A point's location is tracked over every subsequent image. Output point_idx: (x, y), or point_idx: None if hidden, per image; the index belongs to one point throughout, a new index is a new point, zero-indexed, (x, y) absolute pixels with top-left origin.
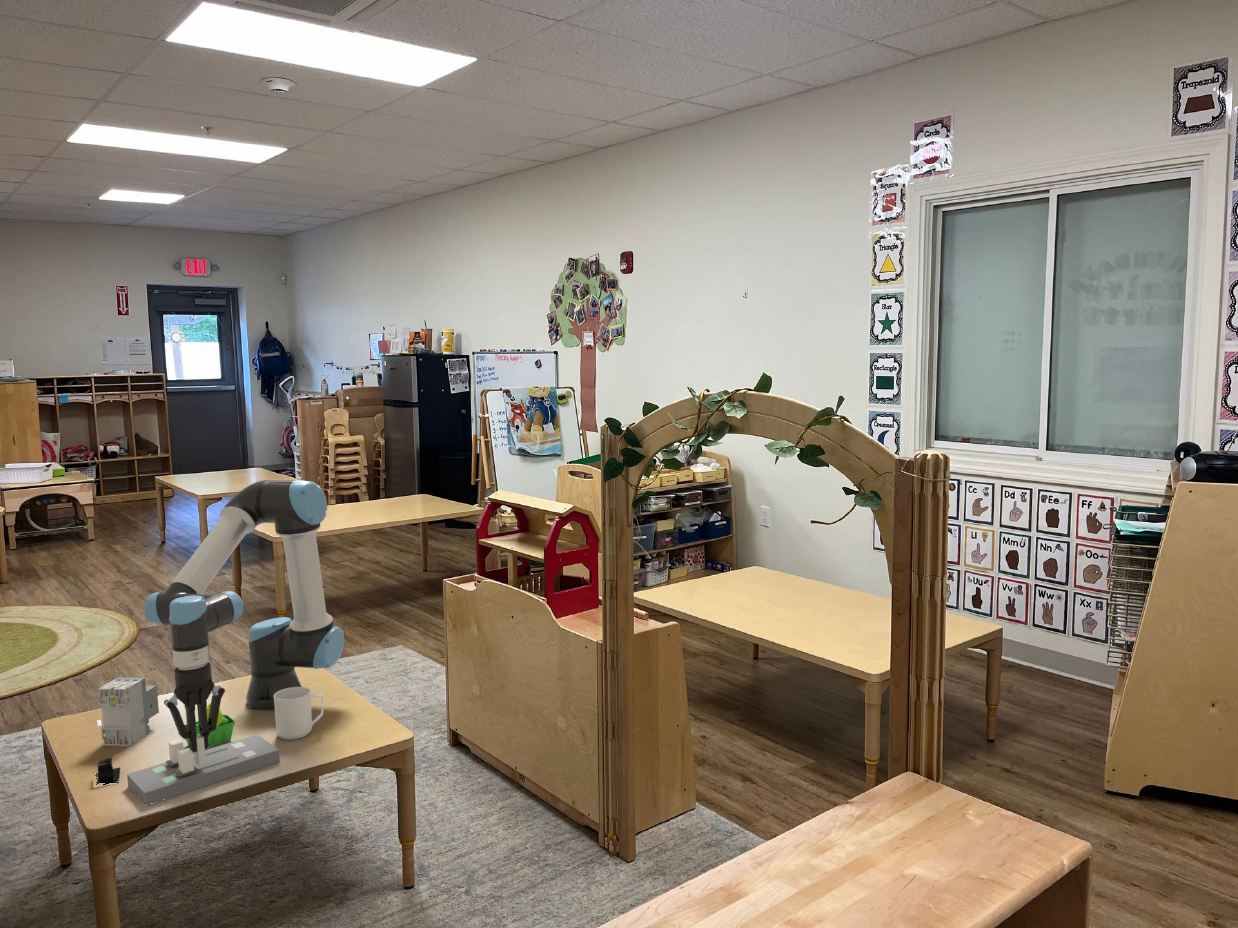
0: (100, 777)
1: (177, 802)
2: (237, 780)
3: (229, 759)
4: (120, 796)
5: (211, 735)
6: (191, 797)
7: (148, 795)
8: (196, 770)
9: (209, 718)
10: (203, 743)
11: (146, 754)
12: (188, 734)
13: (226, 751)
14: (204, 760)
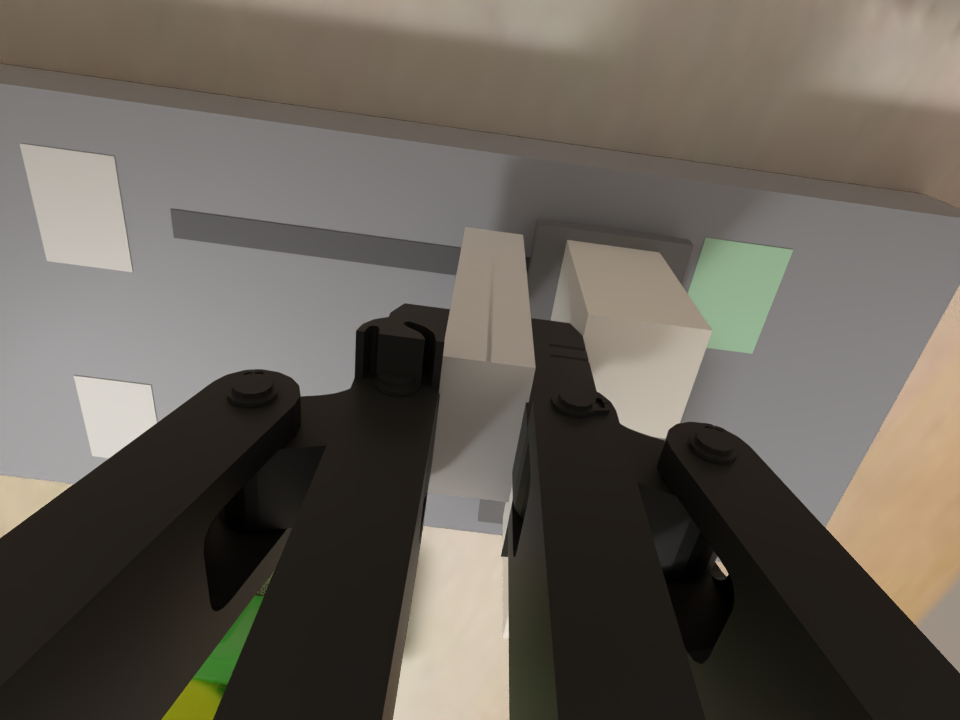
0: None
1: (789, 42)
2: (298, 7)
3: (249, 243)
4: (875, 442)
5: (223, 641)
6: (680, 32)
7: (946, 211)
8: (553, 223)
9: (214, 607)
10: (459, 312)
11: (508, 710)
12: (646, 472)
13: None
14: (472, 241)
